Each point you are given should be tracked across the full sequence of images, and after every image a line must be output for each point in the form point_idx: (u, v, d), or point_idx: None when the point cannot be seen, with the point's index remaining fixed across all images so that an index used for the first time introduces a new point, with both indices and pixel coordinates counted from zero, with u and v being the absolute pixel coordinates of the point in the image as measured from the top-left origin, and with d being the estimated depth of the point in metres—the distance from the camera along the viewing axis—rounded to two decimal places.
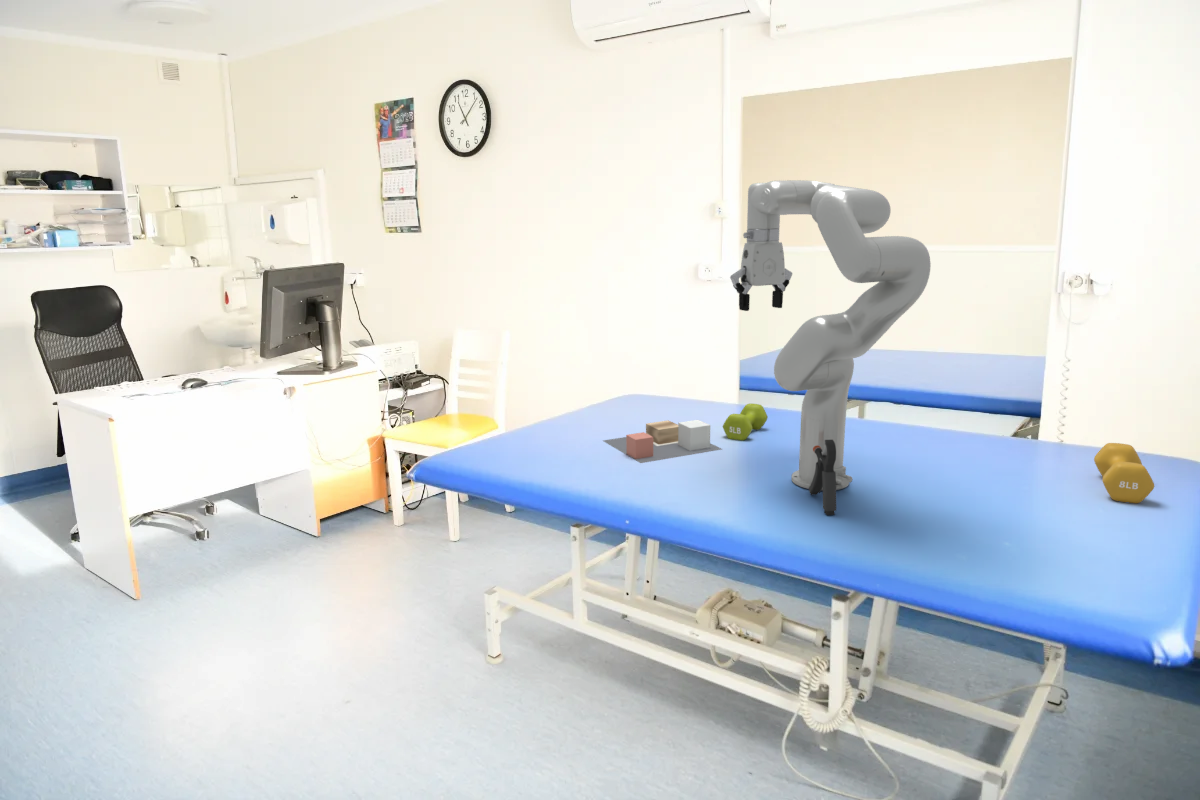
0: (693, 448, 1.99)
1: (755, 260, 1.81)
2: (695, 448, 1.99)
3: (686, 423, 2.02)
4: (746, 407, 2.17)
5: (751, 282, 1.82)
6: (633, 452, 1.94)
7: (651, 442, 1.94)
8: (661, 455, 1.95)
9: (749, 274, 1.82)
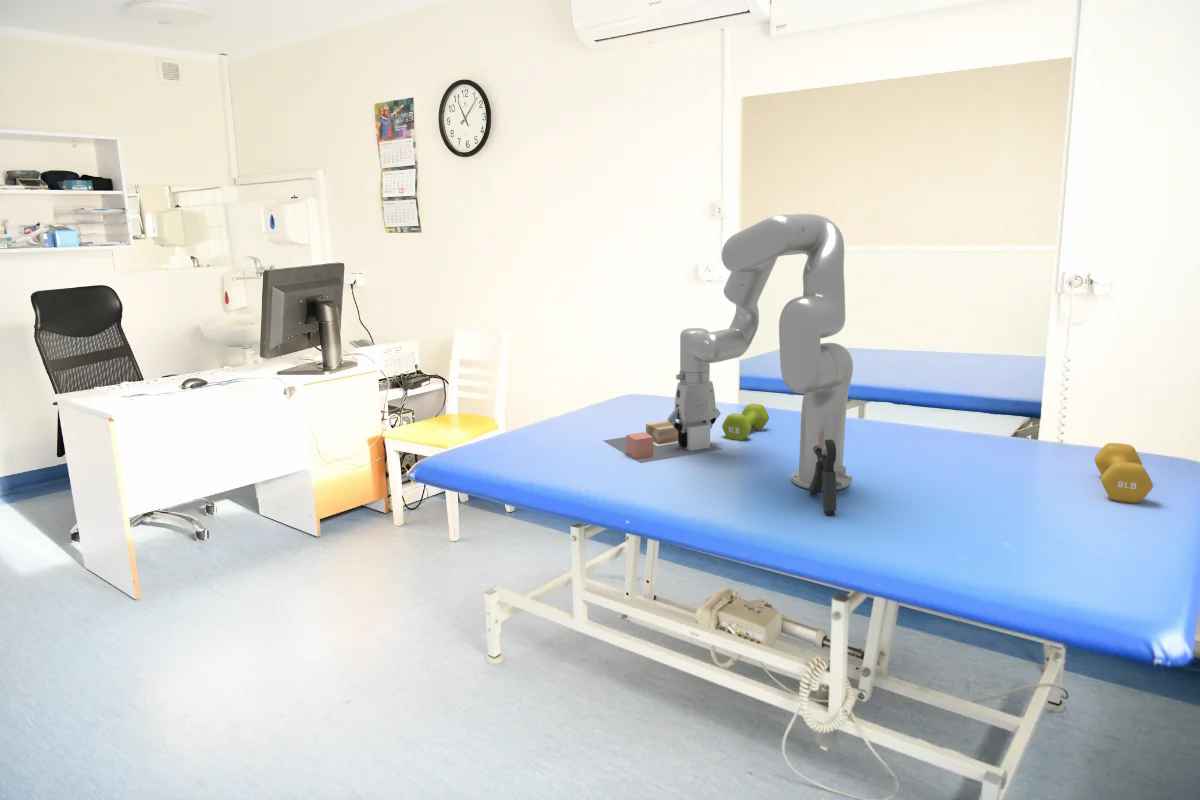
0: (693, 448, 1.99)
1: (686, 400, 1.96)
2: (695, 448, 1.99)
3: None
4: (747, 407, 2.17)
5: (683, 420, 1.97)
6: (633, 452, 1.94)
7: (651, 442, 1.94)
8: (661, 455, 1.95)
9: (681, 413, 1.97)
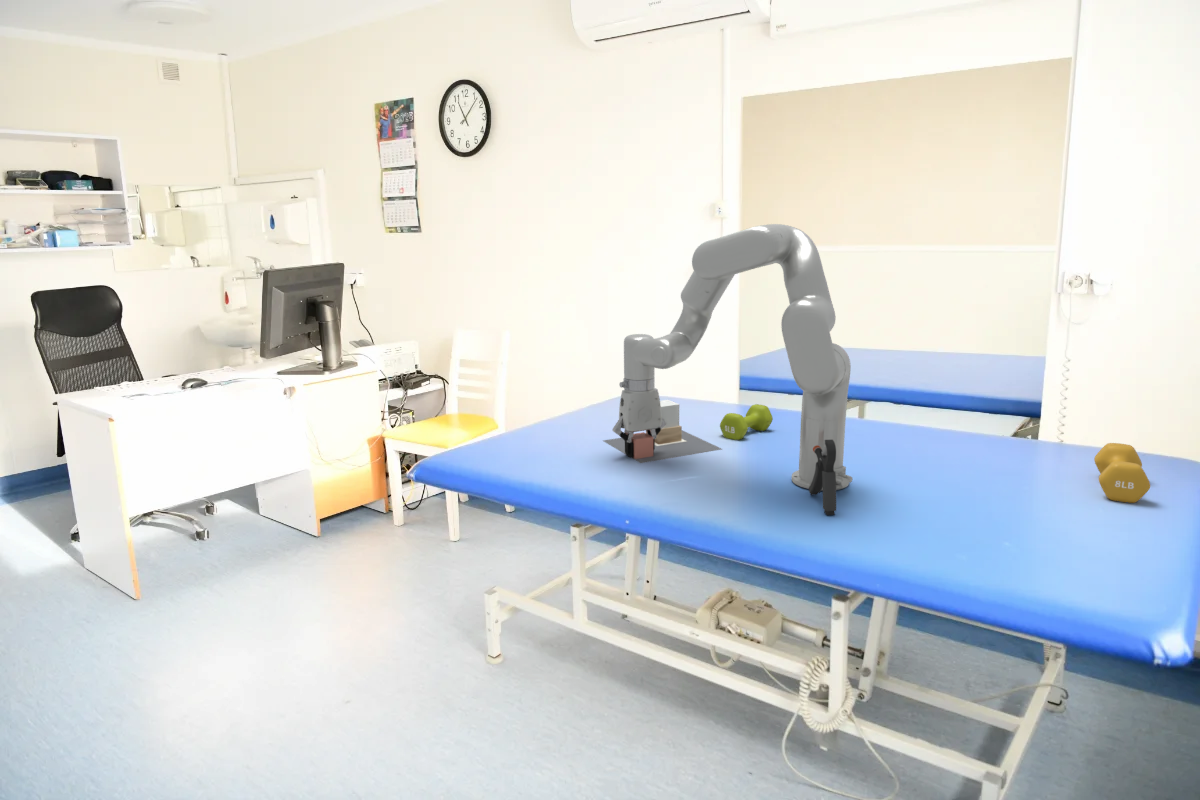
0: None
1: (630, 409, 1.89)
2: (664, 426, 2.05)
3: None
4: (751, 407, 2.17)
5: (627, 429, 1.90)
6: None
7: (651, 442, 1.94)
8: (661, 455, 1.95)
9: (625, 422, 1.90)
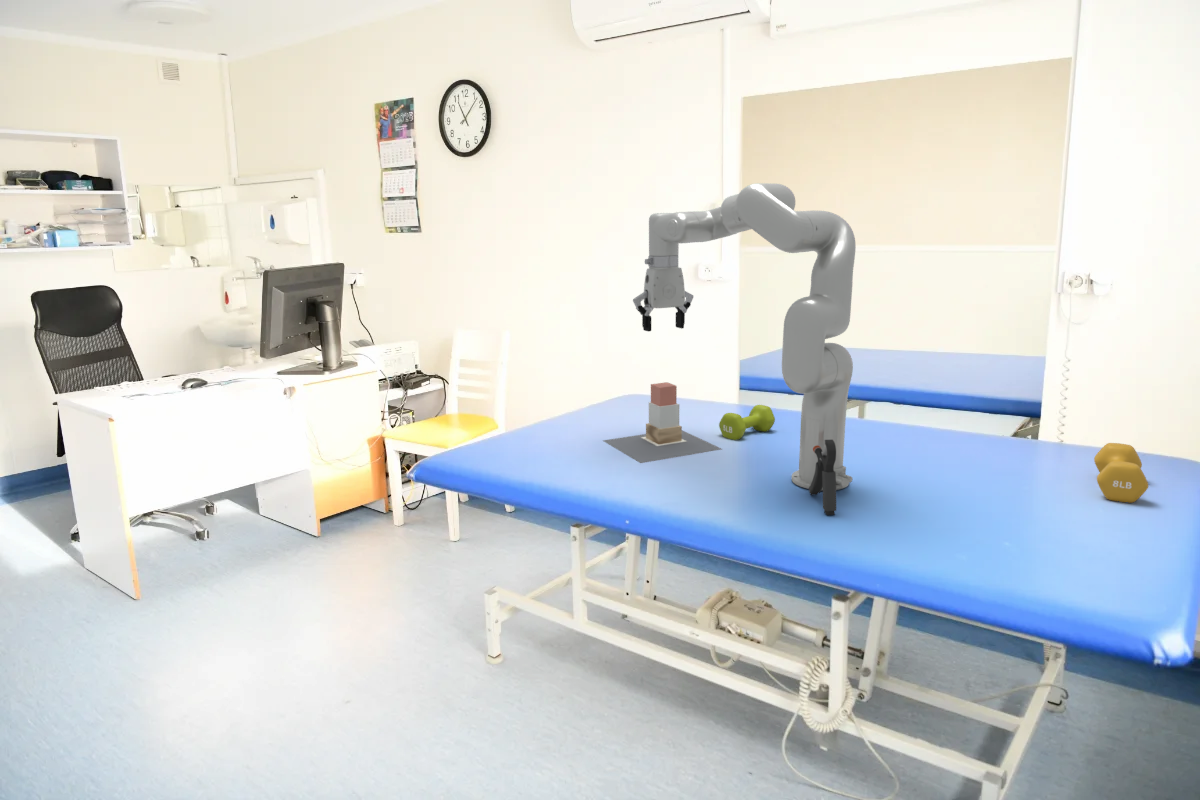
0: (662, 427, 2.05)
1: (655, 285, 1.95)
2: (664, 426, 2.05)
3: None
4: (754, 408, 2.16)
5: (652, 305, 1.96)
6: (657, 400, 2.04)
7: (674, 390, 2.04)
8: (661, 455, 1.95)
9: (650, 297, 1.96)
